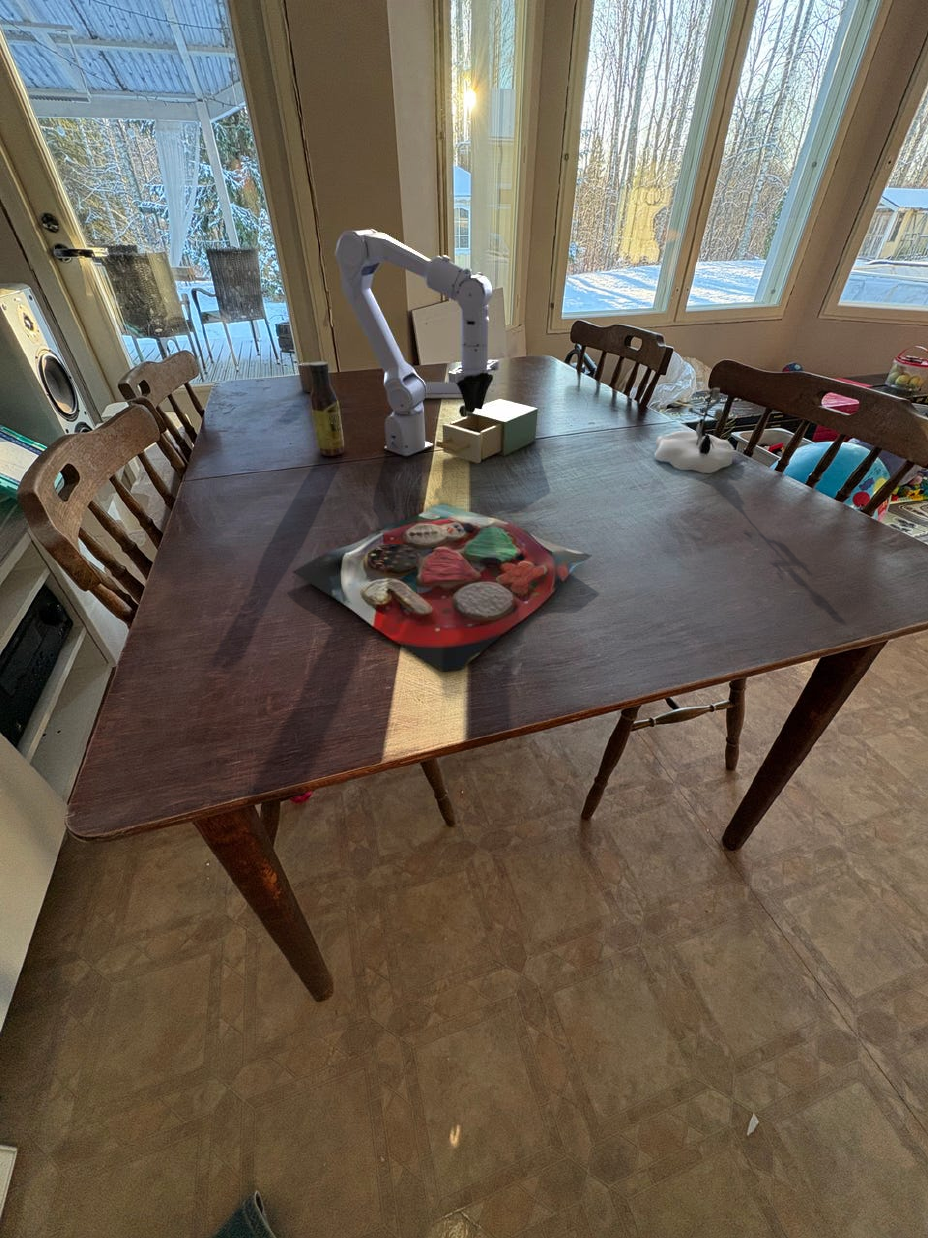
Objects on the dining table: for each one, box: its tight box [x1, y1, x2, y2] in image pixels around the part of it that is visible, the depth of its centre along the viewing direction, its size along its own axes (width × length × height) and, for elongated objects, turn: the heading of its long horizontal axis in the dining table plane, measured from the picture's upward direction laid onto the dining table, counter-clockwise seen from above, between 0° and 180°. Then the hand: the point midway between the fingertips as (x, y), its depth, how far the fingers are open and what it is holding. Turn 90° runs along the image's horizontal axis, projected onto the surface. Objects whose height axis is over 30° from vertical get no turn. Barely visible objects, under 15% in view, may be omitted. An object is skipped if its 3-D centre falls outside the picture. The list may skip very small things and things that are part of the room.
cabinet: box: [466, 398, 539, 456], centre depth 127 cm, size 13×12×8 cm
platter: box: [292, 503, 593, 672], centre depth 83 cm, size 35×35×2 cm
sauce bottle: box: [309, 361, 345, 457], centre depth 118 cm, size 6×6×20 cm
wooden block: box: [297, 361, 314, 394], centre depth 163 cm, size 4×4×8 cm
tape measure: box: [458, 403, 485, 418], centre depth 142 cm, size 7×7×4 cm
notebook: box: [424, 381, 463, 400], centre depth 163 cm, size 13×2×21 cm
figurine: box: [654, 386, 738, 474], centre depth 116 cm, size 20×18×16 cm
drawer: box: [435, 415, 504, 464], centre depth 120 cm, size 17×11×6 cm, turn 139°
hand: (474, 409), depth 116 cm, fingers closed
